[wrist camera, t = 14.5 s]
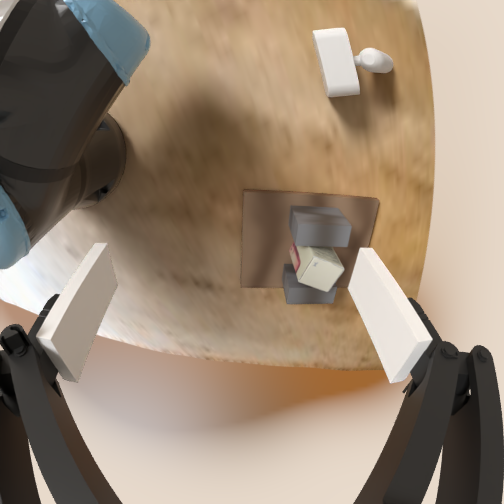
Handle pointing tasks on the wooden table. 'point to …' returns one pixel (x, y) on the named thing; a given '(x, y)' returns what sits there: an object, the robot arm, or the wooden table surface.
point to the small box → (316, 266)
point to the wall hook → (345, 62)
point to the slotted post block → (301, 237)
